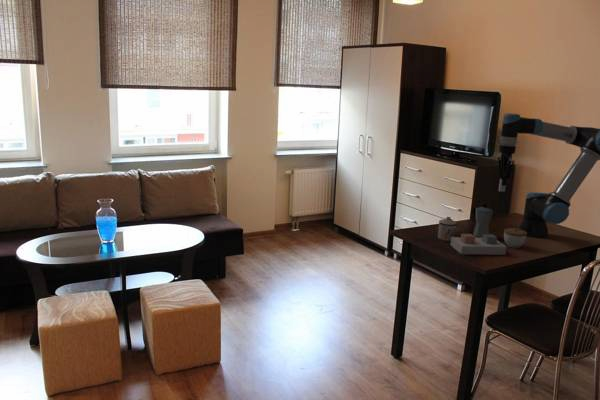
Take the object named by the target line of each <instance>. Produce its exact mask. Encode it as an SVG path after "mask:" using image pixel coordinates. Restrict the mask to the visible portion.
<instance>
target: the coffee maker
mask: <svg viewBox="0 0 600 400" xmlns="http://www.w3.org/2000/svg"><path fill="white" fill-rule="evenodd" d="M487 206H488V203H487V202H483V203H482V206H474V207H473V208H472V214H473V217H474V221H476V222H475V225H474V228H473V229H474V230H473V232H472V233H473V234H472V235H473V236H475V238H483V234H490V224H489V223H490V222H491V219H492V215H493V212H494V210H493V209H491V208H488V207H487Z"/></svg>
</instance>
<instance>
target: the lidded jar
mask: <svg viewBox="0 0 600 400" xmlns="http://www.w3.org/2000/svg"><path fill="white" fill-rule="evenodd" d="M526 235H527V232H526V231H523V230H520V229H518V228H517V227H514V228H512V227H511V228H510V227H508V228H505V229H504V230H503V240H504V243H505V244H506V245H507V246H508V247H509V248H516V249H517V248H521V246H523V245H524V244H525V242H526V240H527V236H526ZM507 246H506V247H507Z"/></svg>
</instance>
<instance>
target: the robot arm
mask: <svg viewBox="0 0 600 400" xmlns="http://www.w3.org/2000/svg"><path fill="white" fill-rule="evenodd" d="M518 134H526V135H533V136H537V137H543V138H547V139H551V140H552V139H553V140H557V141H563V142H565V143H566V144H568V145H572V146H575V147H578V148H579V149H580V153H579V155H578V156H577V158H576V159H575V161H574V162H573V163H572V165H571V166H570V168H569V169H568V171H567V172H566V174H565V175H564V177H563V178H562V179H561V181H560V182H559V184H558V185H557V187H556V188H555V190H553V192H552V191H551V192H547V193H546V192H528V193H526V197H525V203H524V208H523V209H524V210H523V211H524V212H523V216H522V217H523V218H522V220H521V222H520V224H519V226H518V228H517V229H520V230H523V231H526V232H527V235H526V237H531V238H547V237H548V235H549V229H548V226H547V225H548V224H552V225H559V224H562V223H563V222H565V221H566V220H567V219H568V218H569V216H570V207H571V205H572V203H571V200H572V198H573V196H574V195H575V193H576V192H577V191H578V189H579V188H580V186H581V185H582V184H583V182H584V181H585V179H586V178H587V177H588V175H589V174H590V172H591V171H592V170H593V168H594V167H595V165H596V163H597V162H598V161H600V128H599V127H591V126H590V127H589V126H588V127H587V126H575V125H570V126H566V125H561V124H557V123H556V124H555V123H552V122H551V123H550V122H546V121H543V120H542V119H540V118H532V117H531V118H530V117H529V118H528V117H523V116H521V114H519V113H505V114H504V115H503V118H502V126H501V134H500V141H499V142H500V143H499V144H500V145H499V147H498V148H499V149H498V152H499V153H501V154H500V156H498V157H497V161H498V163H497V176H498V177H499V184H498V192H501V193H502V192H505V193H506V188H507V187H506V186H507V180H508V179H510V177H511V174H512V169H513V165H514V164H515V160H513V155H514V154H515V153H516V150H517V149H516V147H517V146H516V145H517V140H518V136H519V135H518Z"/></svg>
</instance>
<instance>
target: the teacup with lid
mask: <svg viewBox="0 0 600 400" xmlns="http://www.w3.org/2000/svg"><path fill="white" fill-rule="evenodd" d="M458 231H459V224H458V223H457V221H455V220H453V219H452V218H451V216H446V218H444V219H440V220H439V221H438V231H437V238H438V240H441V241H446V242H451V237H456V233H457V232H458Z"/></svg>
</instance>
